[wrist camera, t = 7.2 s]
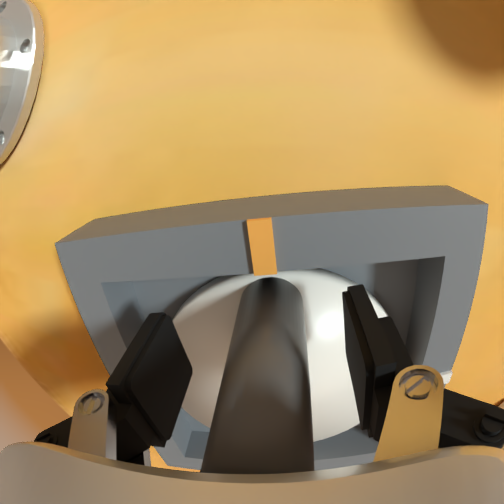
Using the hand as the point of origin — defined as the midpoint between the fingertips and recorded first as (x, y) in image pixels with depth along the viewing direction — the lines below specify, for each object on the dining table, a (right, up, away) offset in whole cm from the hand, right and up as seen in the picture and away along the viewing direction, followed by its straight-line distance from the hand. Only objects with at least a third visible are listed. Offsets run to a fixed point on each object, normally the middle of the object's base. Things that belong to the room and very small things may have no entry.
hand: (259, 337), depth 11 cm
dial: (+1, -3, +5) cm, 6 cm away
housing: (+1, -3, +6) cm, 7 cm away
